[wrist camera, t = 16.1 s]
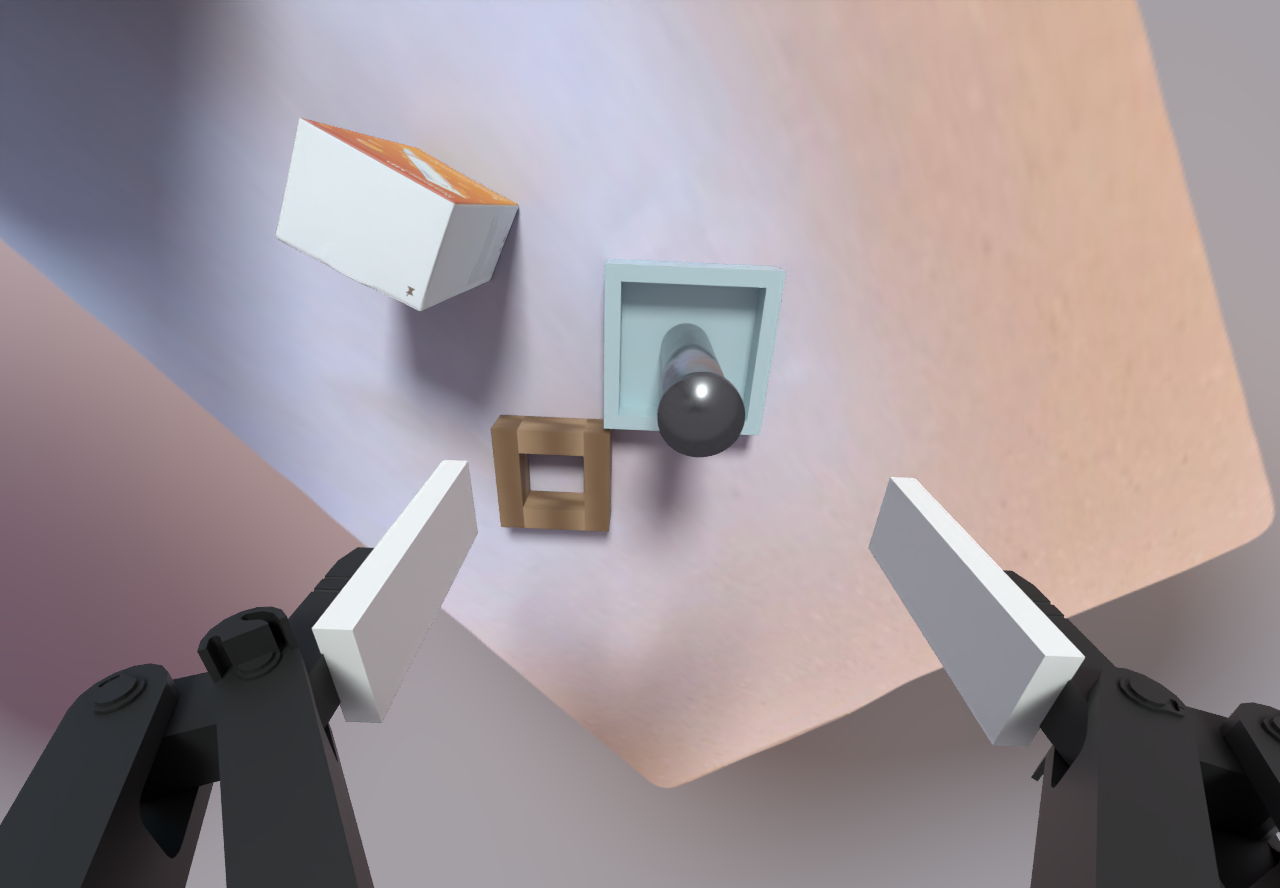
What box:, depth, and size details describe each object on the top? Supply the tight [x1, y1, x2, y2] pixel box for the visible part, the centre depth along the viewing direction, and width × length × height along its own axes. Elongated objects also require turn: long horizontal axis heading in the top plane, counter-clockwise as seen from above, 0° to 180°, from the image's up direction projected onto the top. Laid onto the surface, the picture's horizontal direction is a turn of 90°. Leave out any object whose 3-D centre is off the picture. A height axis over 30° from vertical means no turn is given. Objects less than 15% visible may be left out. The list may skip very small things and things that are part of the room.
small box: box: [275, 117, 519, 311], centre depth 31 cm, size 8×6×13 cm
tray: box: [604, 259, 786, 435], centre depth 39 cm, size 13×13×3 cm
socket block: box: [491, 415, 612, 532], centre depth 45 cm, size 10×10×3 cm
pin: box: [657, 323, 745, 457], centre depth 33 cm, size 5×5×15 cm
